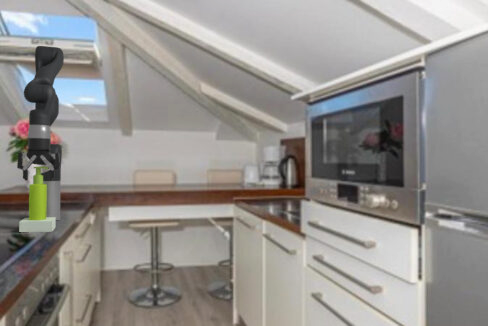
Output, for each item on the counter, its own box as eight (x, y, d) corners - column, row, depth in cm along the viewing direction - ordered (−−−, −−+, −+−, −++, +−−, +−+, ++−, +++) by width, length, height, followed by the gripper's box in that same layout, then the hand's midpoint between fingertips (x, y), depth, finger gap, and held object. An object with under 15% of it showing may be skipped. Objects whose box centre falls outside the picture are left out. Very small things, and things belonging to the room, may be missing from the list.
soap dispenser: (44, 220, 151) (44, 166, 151) (25, 220, 151) (26, 166, 151) (51, 218, 157) (52, 166, 157) (34, 217, 157) (34, 166, 157)
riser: (24, 228, 157) (25, 217, 157) (55, 227, 160) (55, 217, 160) (19, 232, 147) (19, 221, 147) (51, 231, 151) (52, 220, 151)
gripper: (61, 138, 159) (60, 179, 159) (20, 137, 155) (19, 179, 155) (58, 137, 152) (58, 181, 152) (16, 136, 148) (15, 181, 148)
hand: (38, 180), depth 154 cm, fingers open, 8 cm apart
